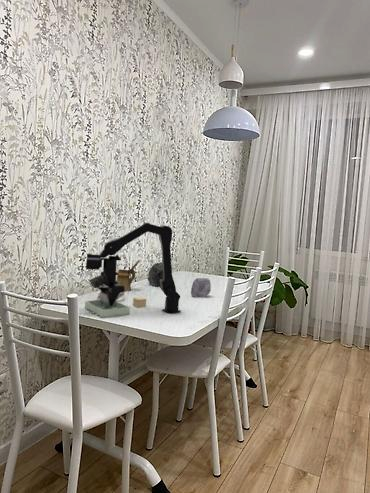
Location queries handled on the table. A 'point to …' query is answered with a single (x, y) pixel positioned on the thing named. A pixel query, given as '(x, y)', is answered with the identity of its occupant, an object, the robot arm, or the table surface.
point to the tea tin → (106, 301)
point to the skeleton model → (117, 297)
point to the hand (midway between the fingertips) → (108, 304)
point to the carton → (139, 302)
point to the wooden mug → (126, 277)
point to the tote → (109, 312)
